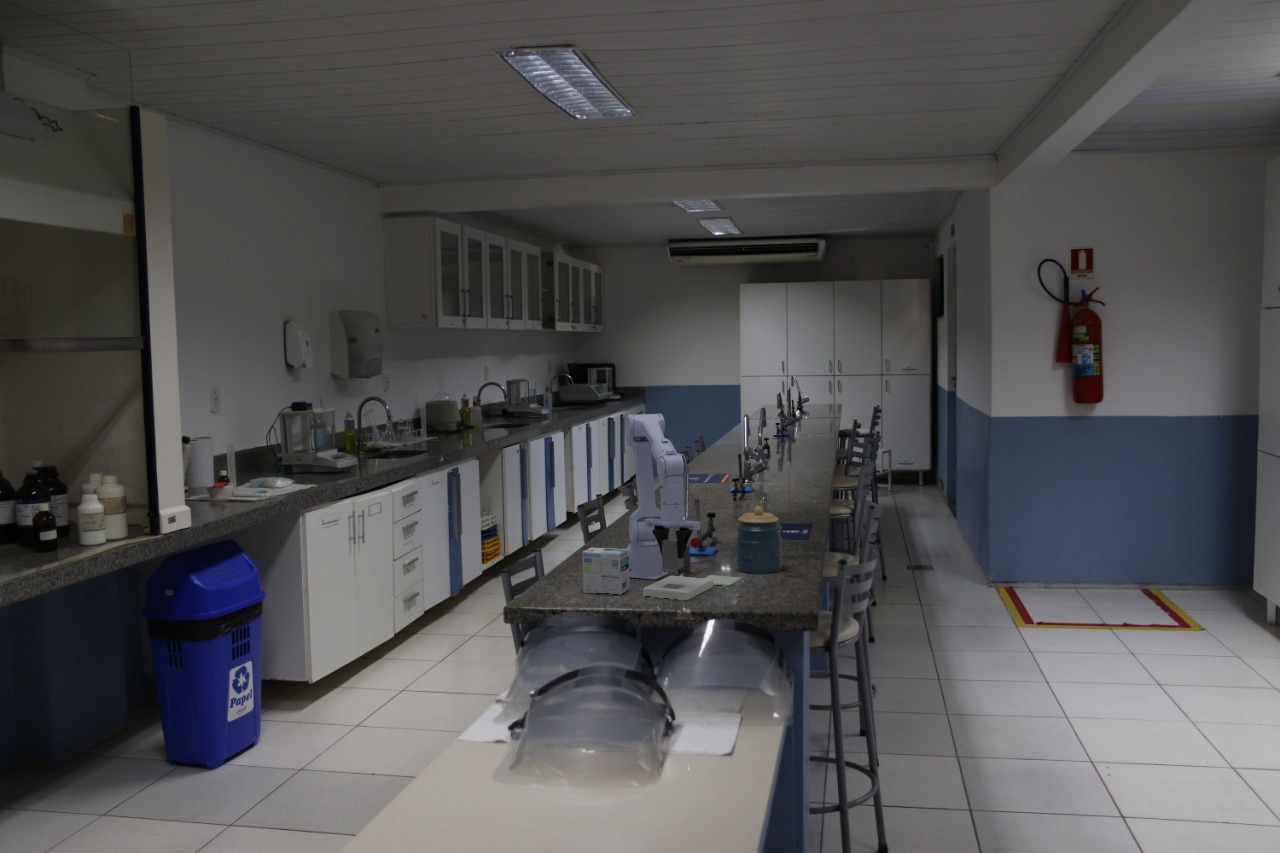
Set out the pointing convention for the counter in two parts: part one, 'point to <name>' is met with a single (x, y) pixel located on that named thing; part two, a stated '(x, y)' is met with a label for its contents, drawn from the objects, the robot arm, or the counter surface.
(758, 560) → the canister
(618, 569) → the light bulb box
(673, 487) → the robot arm
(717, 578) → the mat
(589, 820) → the counter surface
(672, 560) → the plug
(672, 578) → the plate
